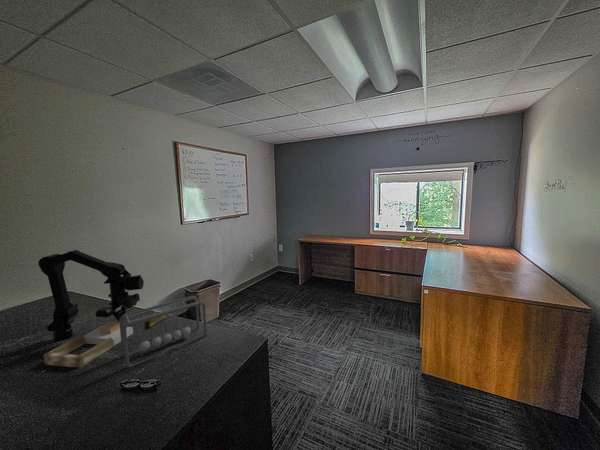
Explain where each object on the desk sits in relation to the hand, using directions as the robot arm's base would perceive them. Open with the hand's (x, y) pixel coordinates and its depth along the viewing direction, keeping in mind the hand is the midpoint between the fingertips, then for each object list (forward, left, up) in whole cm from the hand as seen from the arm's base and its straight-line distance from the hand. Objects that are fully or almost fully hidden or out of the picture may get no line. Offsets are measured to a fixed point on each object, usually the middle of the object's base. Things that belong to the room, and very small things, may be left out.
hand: (120, 322), depth 117 cm
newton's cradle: (+32, -10, -4) cm, 34 cm away
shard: (+15, +7, -5) cm, 17 cm away
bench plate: (0, -7, -4) cm, 8 cm away
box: (0, -19, -4) cm, 19 cm away
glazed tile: (0, -5, -1) cm, 5 cm away
